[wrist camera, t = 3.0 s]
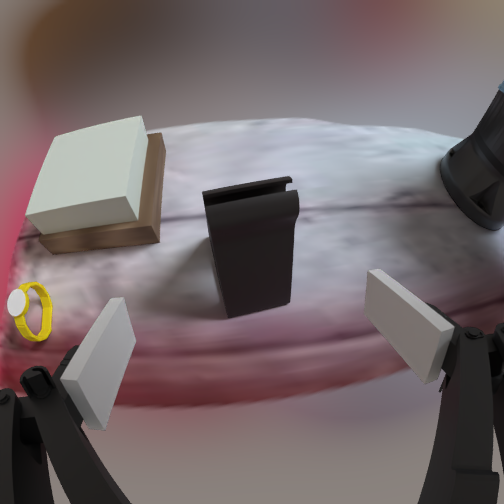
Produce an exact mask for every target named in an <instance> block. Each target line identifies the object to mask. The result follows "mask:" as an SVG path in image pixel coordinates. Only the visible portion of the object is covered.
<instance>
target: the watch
mask: <svg viewBox="0 0 504 504" xmlns="http://www.w3.org/2000/svg"><path fill="white" fill-rule="evenodd" d="M30 287H31V288H33V289H35V291H36V292H37V294H38V295H39V297H40V300H41V303H42V306H43V314H42V330H41V331H40V333H39V334H38V336H35V335H34V334H32V333H31V331H30V330H29V328H28V326H27V325H26V321H25V317H24V315H25V314H26V313H27V311H28V308H29V297H28V294H27V291H28V289H29V288H30ZM7 307H8V311H9V313H10V314H11V315H12V316H14V319H15V323H16V326H17V328H18V330H19V331H20V333H21V334H22V336H23V337H24V338H26V339H28V340H30V341H42V340H45V339H47V337H48V336H49V334H50V333H51V331H52V329H51V322H52V307H53V306H52V302H51V299H50V296H49V294H48V292H47V291H46V289H45V288H44V286H43V285H41V284H39V283H38V282H29V283H25V284H21V285H20V286H19V288H18V289H15V290H14V291H13V292H12V293H11V294H10V296H9V298H8V302H7Z"/></svg>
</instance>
